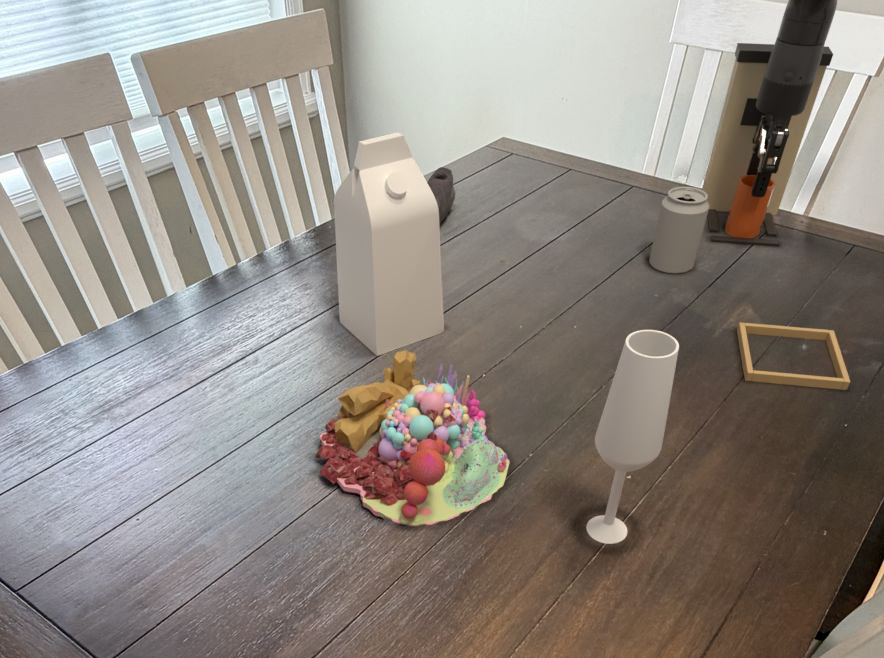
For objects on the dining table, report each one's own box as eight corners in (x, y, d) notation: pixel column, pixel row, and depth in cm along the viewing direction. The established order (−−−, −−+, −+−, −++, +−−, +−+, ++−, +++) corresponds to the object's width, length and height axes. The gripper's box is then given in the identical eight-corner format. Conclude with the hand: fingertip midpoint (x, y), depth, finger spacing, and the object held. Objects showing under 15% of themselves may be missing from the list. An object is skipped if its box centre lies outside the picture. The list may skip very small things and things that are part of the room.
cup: (755, 229, 135) (773, 176, 128) (759, 243, 131) (777, 189, 124) (722, 226, 135) (737, 173, 128) (724, 241, 132) (740, 187, 125)
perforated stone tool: (438, 239, 133) (438, 198, 127) (410, 235, 134) (409, 195, 128) (459, 205, 142) (459, 166, 137) (433, 202, 143) (432, 163, 138)
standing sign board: (774, 209, 140) (828, 46, 120) (786, 251, 129) (848, 79, 109) (696, 204, 142) (737, 42, 122) (701, 245, 131) (747, 74, 111)
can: (643, 273, 124) (660, 198, 115) (652, 254, 128) (668, 180, 119) (688, 281, 122) (708, 205, 113) (695, 261, 126) (715, 187, 117)
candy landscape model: (282, 462, 92) (269, 399, 85) (404, 379, 104) (402, 319, 97) (434, 552, 82) (433, 490, 75) (551, 450, 94) (560, 388, 87)
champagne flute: (647, 533, 84) (705, 343, 65) (612, 564, 81) (663, 373, 62) (599, 505, 87) (642, 316, 69) (564, 533, 84) (599, 344, 66)
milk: (404, 300, 118) (398, 116, 98) (444, 332, 112) (445, 142, 92) (339, 322, 114) (318, 134, 94) (376, 356, 108) (363, 162, 88)
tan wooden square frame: (828, 342, 110) (834, 330, 108) (844, 394, 101) (850, 381, 100) (735, 334, 111) (739, 322, 110) (743, 385, 103) (747, 372, 101)
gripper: (821, 90, 109) (782, 204, 122) (808, 63, 118) (772, 172, 131) (770, 87, 110) (735, 201, 123) (760, 60, 119) (729, 169, 132)
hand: (754, 186), depth 127 cm, fingers open, 8 cm apart
